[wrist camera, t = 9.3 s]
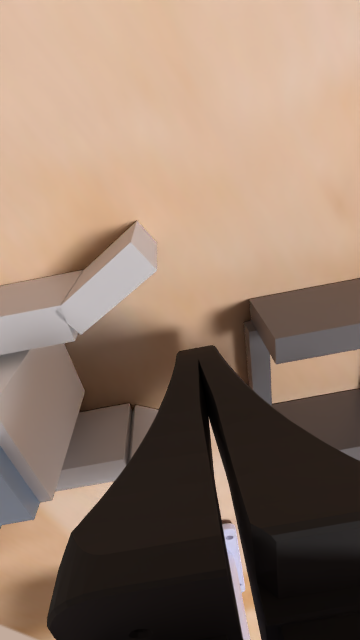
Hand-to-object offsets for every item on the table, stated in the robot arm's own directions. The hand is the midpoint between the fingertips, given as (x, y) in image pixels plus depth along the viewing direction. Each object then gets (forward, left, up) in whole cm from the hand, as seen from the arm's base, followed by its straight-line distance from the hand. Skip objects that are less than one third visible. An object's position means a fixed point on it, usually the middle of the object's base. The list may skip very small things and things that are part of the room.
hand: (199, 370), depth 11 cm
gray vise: (-5, -5, -2) cm, 8 cm away
